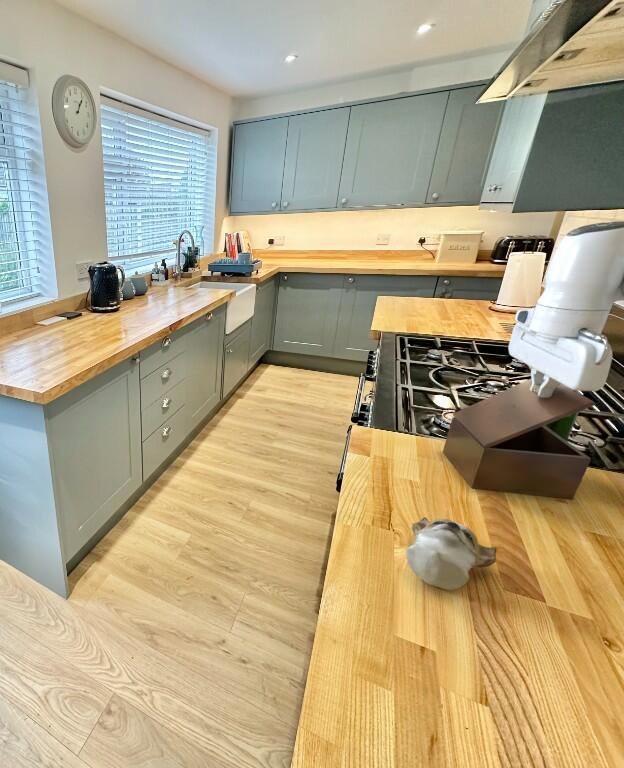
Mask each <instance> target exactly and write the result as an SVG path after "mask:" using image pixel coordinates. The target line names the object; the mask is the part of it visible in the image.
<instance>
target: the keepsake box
mask: <svg viewBox="0 0 624 768" xmlns="http://www.w3.org/2000/svg"><path fill="white" fill-rule="evenodd" d="M442 453H443V455H444V456H445V457H446V459H447V460H448V461H449V462H450V463H451V465H452V466H453V467H454V468H455V470H456V472H458V473H459V475H460V476H461V477H462V478H463V480H464V482H466V483H467V485H468V486H469V487H470V488H471V489H475V490H482V491H483V490H484V491H494V492H503V493H511V494H520V495H528V496H536V497H546V498H555V499H556V498H557V499H565V500H574V498H575V496H576V494H577V491H578V490H579V487H580V485H581V483H582V480H583V478H584V476H585V473H586V472H587V470H588V467H589V465H590V462H591V460H592V458H591V457H589V456H588V455H586V453H584V452H582V451H581V450H580V449H579V448H577V447H576V446H574V445H573V444H571V443H570V442H569V441H568V440H567V441H566V440H564V439H563V438H562V437H560V436H559V435H558V434H556V433H555V432H553V431H552V430H551V429H549V428H548V427H547V426H545V425H544V426H542V427H539V428H537V429H534V430H532V431H529V432H526V433H524V434H521V435H519V436H516V437H514V438H511V439H509V440H506V441H504V442H501V443H499V444H496V445H494V446H491V447H489V448H485V447H484V446H483V445H482V444H481V443H480V442H479V441H478V440H477V439H476V438H475V437H474V436H473V435H472V434H471V433H470V432H469V431H468V430H467V429H466V428H465V427H464V426H463V425H462V424H461V423H460V422H459V421H458V420H457V419H456V418H455V417H454V416H452V417H451V421H450V425H449V428H448V433H447V435H446V439H445V443H444V446H443V450H442Z"/></svg>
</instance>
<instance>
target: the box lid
mask: <svg viewBox="0 0 624 768" xmlns="http://www.w3.org/2000/svg"><path fill="white" fill-rule="evenodd" d="M531 385H532V378H529V379H527V380H524V381H523V382H521V383H518V384H516V385H514V386H511V387H510V388H507V389H504V390H503V391H501V392H498V393H496V394H494V395H491V396H489V397H487V398H485V399H483V400H481V401H478V402H476V403H474V404H472V405H469V406H467V407H465V408H462V409H459V410H457V411H456V412H454V413H452V417H455V418H456V419H457V420H458V421H459V422H460V423H461V424H462V425H463V426H464V427H465V428H466V429H467V430H468V431H469V432H470V433H471V434H472V435H473V436H474V437H475V438H476V439H477V440H478V441H479V442H480V443H481V444H482V445H483V446H484V447H485V448H489V447H491V446H494V445H496V444H499V443H501V442H504V441H506V440H509V439H511V438H514V437H516V436H519V435H521V434H524V433H526V432H529V431H532V430H534V429H537V428H539V427H542V426H544V425H547V424H549V423H552V422H554V421H557V420H559V419H562V418H564V417H567V416H569V415H572V414H574V413H577V412H579V413H580V412H581V411H584V410H587V409H590V408H591V407H595V406H596V403H595V402H594V401H593V400H591V399H590V398H588V397H586V396H584V395H583V394H581V393H580V392H578V391H576V390H572V389H570V388H568V387H567V386H565V385H563V384H560V385H559V386H558V387H557V388H555V389H554V391H553V393H552V396H551V397H549V398H544V397H540V396H538V395H537V394H535V393H533V392H532V391H530V388H531Z"/></svg>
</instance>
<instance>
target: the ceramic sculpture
mask: <svg viewBox="0 0 624 768" xmlns="http://www.w3.org/2000/svg"><path fill="white" fill-rule="evenodd" d="M411 531H412V532H413V535H414V536H415V539H414V543H413V544H411V545H410V546H408V547H407V548H406V549H405V550H406V551H405V554H406V555H405V556H406V557H405V558H406V561H407V565H408V566H409V567H408V568H410V571H412V572H413V574H415V575H416V576H418V578H420V579H421V580H422V581H423V582H424V583H426V584H428V585H430V586H432V587H436V588H440V589H443V590H447V591H453V590H457V589H461V587H463V586H464V585H466V584H467V583H468V581H469V580H470V576H469V572H470V570H471V569H474V568H487V567H490V566H492V565H493V564H495V563H496V562H497V555H496V554H497V547H495V546H491V547H488V546H484V545H482V544H479V542H478V538H477V536H476V534H475V533H474V532H473V531H472V530H471V529H470V528H469V527H467V526H465V525H463V524H461V523H459V522H457V521H454V520H451V519H448V518H437V519H434V520H432V521H431V522H430V521H429V520H428V518H427V517H426V516H424V517H423V518H422V519H421V520H420V521H418V522H414V523H412V525H411Z"/></svg>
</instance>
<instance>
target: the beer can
mask: <svg viewBox="0 0 624 768" xmlns="http://www.w3.org/2000/svg"><path fill="white" fill-rule="evenodd" d="M579 413H580V411H579V412H577V413H574V414H572V415H569V416H567V417H564V418H562V419H559V420H557V421H554V422H552V423H549V424H547V425H545V426H547V427H548V428H549V429H551V430H552V431H553V432H555V433H556V434H558V435H559V436H560V437H562V438H563V439H564V440H566V441H567V442H568V440H569V438H570V434H571V432H572V430H573V427H574V425H575V423H576V420H577V418H578V415H579Z"/></svg>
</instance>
